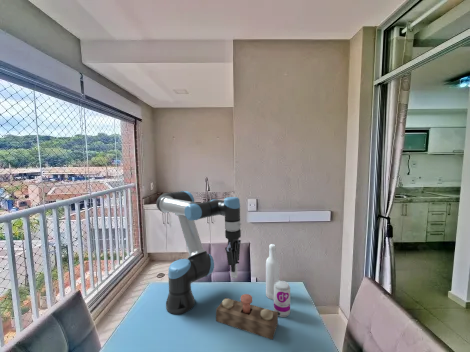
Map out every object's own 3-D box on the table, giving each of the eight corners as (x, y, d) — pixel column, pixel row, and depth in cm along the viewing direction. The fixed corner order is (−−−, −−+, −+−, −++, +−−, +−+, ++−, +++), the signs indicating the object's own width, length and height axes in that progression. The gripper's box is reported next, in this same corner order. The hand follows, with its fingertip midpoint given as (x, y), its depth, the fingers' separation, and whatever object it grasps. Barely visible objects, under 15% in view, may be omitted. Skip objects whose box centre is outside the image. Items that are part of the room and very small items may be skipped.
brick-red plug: (238, 313, 103) (238, 299, 103) (243, 306, 108) (243, 293, 108) (249, 317, 101) (249, 302, 101) (254, 309, 106) (253, 295, 106)
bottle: (280, 293, 129) (280, 243, 127) (278, 301, 121) (278, 248, 119) (267, 290, 131) (266, 241, 130) (264, 298, 124) (264, 246, 122)
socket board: (216, 321, 106) (215, 309, 106) (225, 308, 115) (225, 297, 115) (272, 339, 95) (272, 326, 94) (277, 324, 104) (277, 312, 103)
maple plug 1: (220, 317, 108) (220, 304, 107) (225, 310, 113) (225, 297, 112) (230, 320, 105) (230, 307, 105) (235, 313, 111) (235, 300, 110)
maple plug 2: (259, 330, 99) (259, 315, 99) (262, 321, 105) (262, 307, 104) (271, 333, 97) (271, 318, 97) (274, 325, 102) (274, 310, 102)
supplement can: (290, 319, 107) (290, 289, 106) (273, 316, 109) (273, 287, 108) (289, 308, 115) (289, 280, 114) (274, 306, 117) (273, 279, 116)
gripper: (234, 233, 98) (235, 285, 99) (245, 226, 109) (246, 272, 110) (219, 232, 101) (221, 282, 102) (231, 225, 113) (233, 270, 113)
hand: (234, 277), depth 106 cm, fingers closed
